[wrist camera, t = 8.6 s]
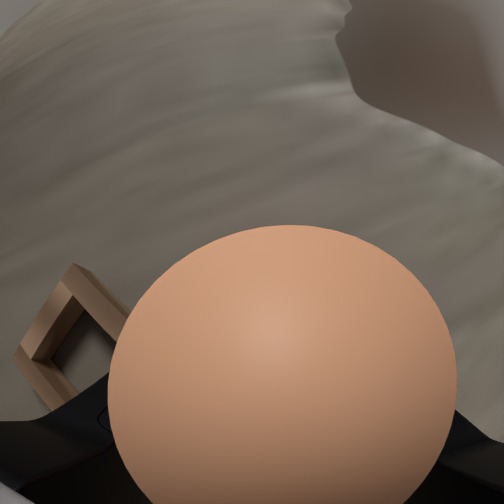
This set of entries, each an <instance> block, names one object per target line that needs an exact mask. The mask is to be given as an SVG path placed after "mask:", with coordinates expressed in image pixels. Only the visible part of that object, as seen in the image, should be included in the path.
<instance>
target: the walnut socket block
mask: <svg viewBox="0 0 504 504" xmlns="http://www.w3.org/2000/svg"><path fill="white" fill-rule="evenodd" d="M85 309H86V310H87V312H88V313H89V314H90V315H91V316H92V317H93V318H94V319H95V320H96V321H97V322H98V323H99V325H100V326H101V327H102V328H103V329H104V330H105V331H106V332H107V333H108V334H109V335H110V336H111V337H112V338H113V339H114V340H115V341H116V342H117V341H118V338H119V336H120V334H121V331H122V329H123V327H124V325H125V323H126V321H127V319H128V317H129V315H130V314H131V312H130V311H129V310H128V309H127V308H126V307H125V306H124V305H123V304H122V303H121V302H120V301H119V300H118V299H117V298H116V297H115V296H114V295H113V294H112V293H111V292H110V291H109V290H108V289H107V288H106V287H105V286H104V285H103V284H102V283H101V282H100V281H99V280H98V279H97V278H96V276H95V275H94V274H93V273H92V272H91V271H89V270H87V269H85V268H83V267H81V266H78V265H76V264H74V263H73V264H72V265H71V266H70V268H69V269H68V270H67V272H66V273H65V275H64V276H63V277H62V279H61V280H60V282H59V283H58V285H57V286H56V288H55V289H54V290H53V292H52V293H51V295H50V296H49V298H48V299H47V301H46V302H45V304H44V306H43V307H42V309H41V310H40V312H39V313H38V315H37V317H36V318H35V320H34V321H33V323H32V325H31V326H30V328H29V330H28V331H27V333H26V335H25V336H24V338H23V340H22V342H21V343H20V345H19V347H18V349H17V350H16V352H15V354H14V356H13V358H12V359H13V360H14V362H15V363H16V365H17V366H18V368H19V369H20V370H21V372H22V373H23V375H24V376H25V377H26V379H27V380H28V382H29V383H30V384H31V386H32V387H33V388H34V390H35V391H36V392H37V394H38V395H39V396H40V397H41V399H42V400H43V401H44V402H45V404H46V405H47V406H48V407H49V408H50V410H51V411H54V410H55V409H57V408H58V407H60V406H61V405H63V404H65V403H66V402H68V401H69V400H71V399H72V398H74V397H75V396H77V395H78V394H80V393H79V392H78V391H77V390H76V389H75V387H74V386H73V385H72V384H71V383H70V382H69V381H68V379H67V378H66V377H65V376H64V375H63V374H62V372H61V371H60V370H59V369H58V368H57V366H56V365H55V364H54V363H53V361H52V360H51V359H52V357H53V355H54V354H55V352H56V351H57V349H58V348H59V346H60V345H61V343H62V342H63V340H64V339H65V337H66V336H67V334H68V333H69V331H70V330H71V328H72V327H73V325H74V324H75V323H76V321H77V320H78V318H79V317H80V315H81V314H82V313H83V311H84V310H85Z"/></svg>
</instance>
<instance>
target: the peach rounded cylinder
mask: <svg viewBox="0 0 504 504" xmlns="http://www.w3.org/2000/svg"><path fill="white" fill-rule="evenodd" d="M456 396H457V366H456V359H455V354H454V348H453V344H452V341H451V337H450V334H449V331H448V328H447V325H446V323H445V321H444V319H443V317H442V315H441V313H440V311H439V309H438V307H437V305H436V303H435V302H434V300H433V299H432V297H431V296H430V294H429V293H428V292H427V290H426V289H425V287H424V286H423V285H422V284H421V283H420V282H419V281H418V280H417V278H416V277H415V276H414V275H413V274H412V273H411V272H410V271H409V270H408V269H406V268H405V267H404V266H403V265H402V264H401V263H399V262H398V261H397V260H396V259H395V258H393V257H392V256H390V255H389V254H387V253H385V252H384V251H382V250H381V249H379V248H378V247H376V246H374V245H372V244H370V243H367V242H365V241H363V240H361V239H359V238H357V237H354V236H351V235H348V234H345V233H341V232H338V231H335V230H330V229H325V228H319V227H313V226H298V225H281V226H269V227H260V228H256V229H251V230H246V231H242V232H238V233H235V234H232V235H229V236H226V237H223V238H221V239H218V240H215V241H213V242H211V243H209V244H207V245H205V246H203V247H201V248H199V249H197V250H195V251H194V252H192V253H191V254H189V255H188V256H186V257H185V258H183V259H182V260H180V261H179V262H177V263H176V264H174V265H173V266H172V267H171V268H170V269H169V270H167V271H166V272H165V273H164V274H163V275H162V276H161V277H159V278H158V279H157V280H156V281H155V282H154V284H153V285H152V286H151V287H150V288H149V289H148V290H147V292H146V293H145V294H144V295H143V296H142V297H141V299H140V300H139V302H138V303H137V305H136V306H135V308H134V309H133V311H132V312H131V314H130V315H129V317H128V319H127V321H126V323H125V325H124V327H123V329H122V331H121V334H120V336H119V338H118V341H117V344H116V347H115V350H114V354H113V357H112V360H111V366H110V373H109V379H108V410H109V417H110V424H111V429H112V432H113V436H114V439H115V443H116V446H117V449H118V451H119V453H120V456H121V458H122V460H123V462H124V464H125V467H126V468H127V470H128V471H129V473H130V475H131V476H132V478H133V479H134V481H135V482H136V484H137V485H138V487H139V488H140V489H141V490H142V491H143V493H144V494H145V495H146V496H147V497H148V499H149V500H150V501H151V502H152V503H153V504H403V503H404V502H405V501H406V500H407V499H408V498H409V497H410V496H411V495H412V494H413V493H414V491H415V490H416V489H417V488H418V487H419V486H420V484H421V483H422V482H423V481H424V479H425V478H426V476H427V475H428V473H429V472H430V470H431V469H432V467H433V466H434V464H435V462H436V461H437V459H438V457H439V455H440V453H441V451H442V449H443V447H444V444H445V442H446V439H447V436H448V434H449V431H450V428H451V424H452V420H453V416H454V411H455V406H456Z"/></svg>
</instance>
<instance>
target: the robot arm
mask: <svg viewBox="0 0 504 504" xmlns="http://www.w3.org/2000/svg"><path fill="white" fill-rule="evenodd" d="M109 373H110V371H109V372H108V373H107V374H106V375H105V376H103V377H102V378H101V379H99V380H98V381H97V382H96V383H94V384H93V385H92V386H90V387H89V388H87V389H86V390H84V391H83V392H81V393H80V394H78V395H77V396H75V397H74V398H72V399H71V400H69V401H68V402H66V403H65V404H63V405H61V406H60V407H58V408H57V409H55V410H54V411H52V412H50V413H49V414H47V415H45V416H43V417H41V418H38V419H35V420H30V421H0V504H153V503H152V502H151V501H150V500H149V499H148V497H147V496H146V495H145V494H144V493H143V491H142V490H141V489H140V488H139V487H138V485H137V484H136V482H135V481H134V479H133V478H132V476H131V475H130V473H129V471H128V470H127V468H126V467H125V464H124V462H123V460H122V458H121V456H120V453H119V451H118V449H117V446H116V443H115V439H114V436H113V432H112V429H111V424H110V417H109V410H108V379H109ZM403 504H504V443H501V442H498V441H495V440H493V439H491V438H489V437H488V436H486V435H485V434H484V433H482V432H481V431H480V430H479V429H478V428H477V427H475V426H474V425H473V424H472V423H471V422H469V421H468V420H467V419H466V418H465V417H464V416H462V415H461V414H460V413H459V412H458V411H457V410H455V411H454V416H453V420H452V424H451V428H450V431H449V434H448V436H447V439H446V442H445V444H444V447H443V449H442V451H441V453H440V455H439V457H438V459H437V461H436V462H435V464H434V466H433V467H432V469H431V470H430V472H429V473H428V475H427V476H426V478H425V479H424V481H423V482H422V483H421V484H420V486H419V487H418V488H417V489H416V490H415V491H414V493H413V494H412V495H411V496H410V497H409V498H408V499H407V500H406V501H405V502H404V503H403Z"/></svg>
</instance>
